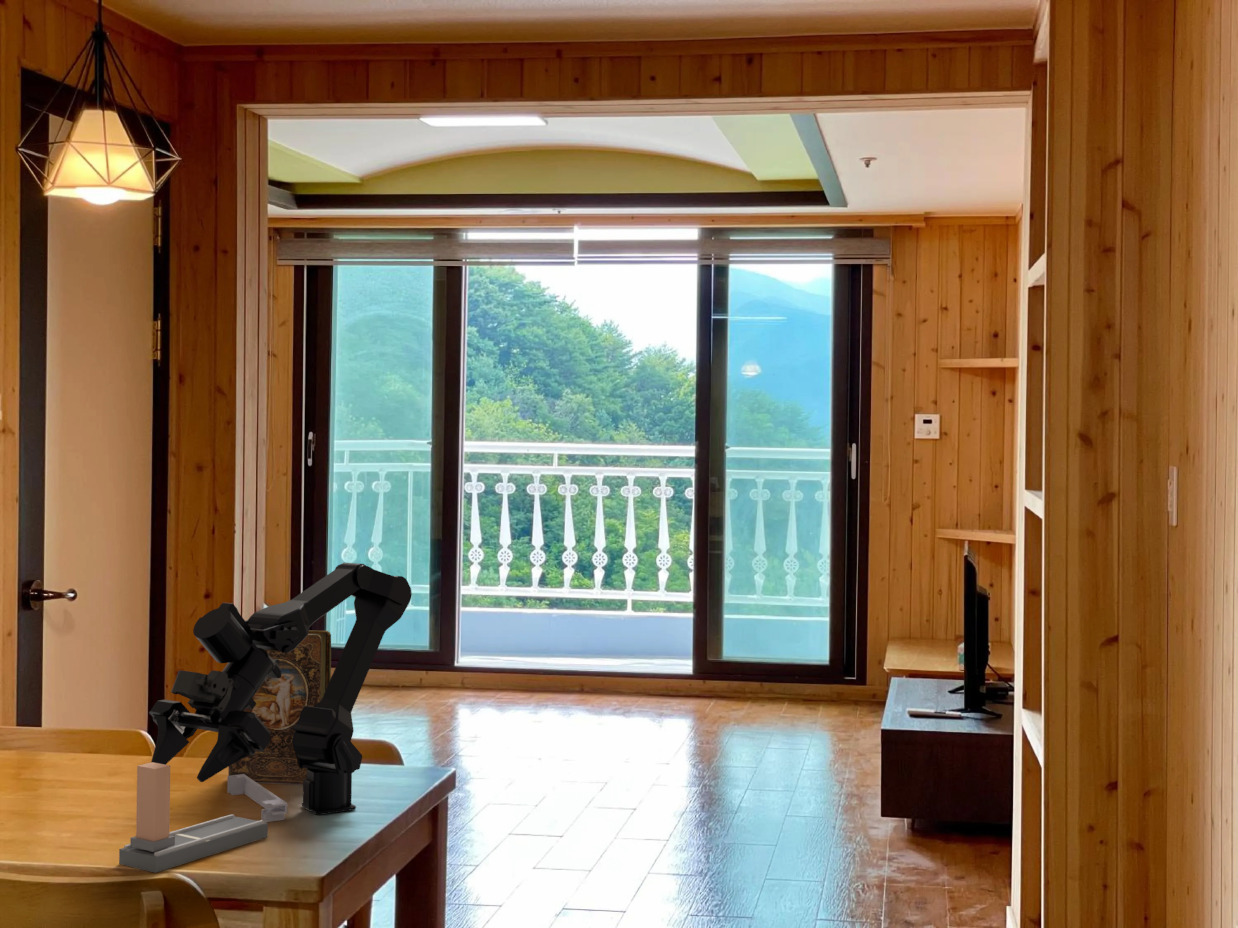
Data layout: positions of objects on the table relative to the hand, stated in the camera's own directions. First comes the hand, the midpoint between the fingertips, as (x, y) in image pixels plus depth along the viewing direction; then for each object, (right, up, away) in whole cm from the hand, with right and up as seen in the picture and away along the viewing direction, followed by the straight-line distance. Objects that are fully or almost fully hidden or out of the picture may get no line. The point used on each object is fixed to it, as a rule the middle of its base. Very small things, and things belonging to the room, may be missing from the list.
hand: (175, 775), depth 182 cm
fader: (-2, -9, -3) cm, 9 cm away
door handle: (+4, -12, +27) cm, 29 cm away
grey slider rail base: (+2, -11, +3) cm, 12 cm away
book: (+3, -11, +44) cm, 46 cm away
